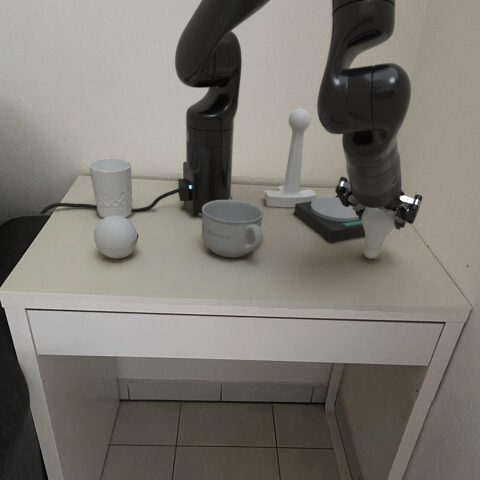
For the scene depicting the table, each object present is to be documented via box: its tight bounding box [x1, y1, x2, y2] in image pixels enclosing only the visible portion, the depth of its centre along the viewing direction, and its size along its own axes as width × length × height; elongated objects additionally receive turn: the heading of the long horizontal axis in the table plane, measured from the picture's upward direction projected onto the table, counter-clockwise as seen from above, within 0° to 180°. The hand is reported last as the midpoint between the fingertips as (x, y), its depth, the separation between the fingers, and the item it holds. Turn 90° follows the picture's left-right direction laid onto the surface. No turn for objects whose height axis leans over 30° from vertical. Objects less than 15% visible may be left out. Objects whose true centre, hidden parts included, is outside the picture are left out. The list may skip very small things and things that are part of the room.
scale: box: [293, 196, 365, 243], centre depth 102 cm, size 13×14×3 cm
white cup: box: [88, 157, 133, 219], centre depth 98 cm, size 8×8×10 cm
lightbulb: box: [362, 207, 396, 260], centre depth 88 cm, size 6×6×11 cm
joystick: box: [263, 107, 317, 208], centre depth 106 cm, size 11×8×20 cm
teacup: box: [201, 199, 264, 258], centre depth 87 cm, size 14×11×8 cm
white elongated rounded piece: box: [93, 215, 139, 259], centre depth 86 cm, size 10×7×7 cm
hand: (381, 219), depth 88 cm, fingers closed on lightbulb, 6 cm apart
